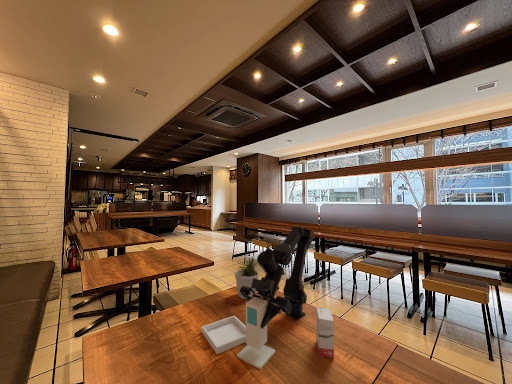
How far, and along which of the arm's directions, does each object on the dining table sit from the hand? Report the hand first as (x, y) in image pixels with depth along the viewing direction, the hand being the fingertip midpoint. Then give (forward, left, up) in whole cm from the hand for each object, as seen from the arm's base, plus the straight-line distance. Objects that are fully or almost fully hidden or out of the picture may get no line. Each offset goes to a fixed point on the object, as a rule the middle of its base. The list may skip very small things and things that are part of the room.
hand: (254, 325), depth 68 cm
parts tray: (0, -15, -10) cm, 18 cm away
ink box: (-21, +13, -10) cm, 27 cm away
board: (-1, 0, -10) cm, 10 cm away
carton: (-1, 0, -6) cm, 6 cm away
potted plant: (-27, -35, -10) cm, 45 cm away
